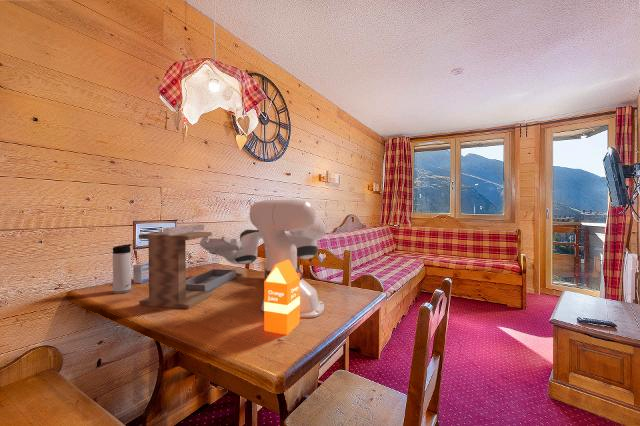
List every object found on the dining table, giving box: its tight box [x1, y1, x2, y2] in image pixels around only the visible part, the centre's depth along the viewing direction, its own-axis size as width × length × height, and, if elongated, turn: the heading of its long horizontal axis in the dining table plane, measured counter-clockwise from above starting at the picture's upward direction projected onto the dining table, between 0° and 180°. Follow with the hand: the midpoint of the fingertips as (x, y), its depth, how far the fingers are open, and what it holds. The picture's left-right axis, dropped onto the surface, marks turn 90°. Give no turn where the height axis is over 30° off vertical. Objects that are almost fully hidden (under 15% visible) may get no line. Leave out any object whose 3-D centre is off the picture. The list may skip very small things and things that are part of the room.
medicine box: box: [132, 261, 149, 284], centre depth 135 cm, size 8×4×9 cm, turn 168°
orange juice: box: [263, 259, 301, 335], centre depth 85 cm, size 8×9×20 cm
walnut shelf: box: [138, 231, 213, 310], centre depth 108 cm, size 20×15×26 cm
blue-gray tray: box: [186, 268, 237, 292], centre depth 130 cm, size 13×28×4 cm, turn 170°
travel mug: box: [112, 243, 133, 295], centre depth 118 cm, size 6×7×20 cm
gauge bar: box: [162, 223, 205, 235], centre depth 112 cm, size 2×22×2 cm, turn 170°
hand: (213, 237), depth 133 cm, fingers open, 8 cm apart
